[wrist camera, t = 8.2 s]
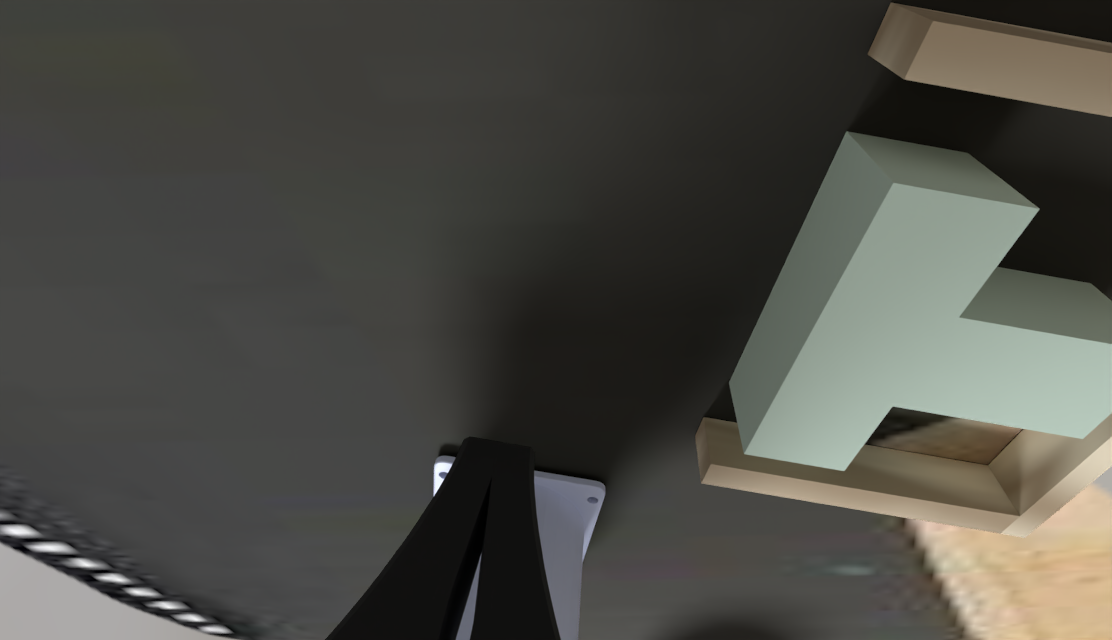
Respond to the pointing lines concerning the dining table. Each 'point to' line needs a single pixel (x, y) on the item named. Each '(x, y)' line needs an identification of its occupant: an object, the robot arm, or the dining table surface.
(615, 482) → the dining table surface
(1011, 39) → the dock
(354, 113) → the dining table surface
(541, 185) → the dining table surface
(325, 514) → the dining table surface
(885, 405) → the tee
